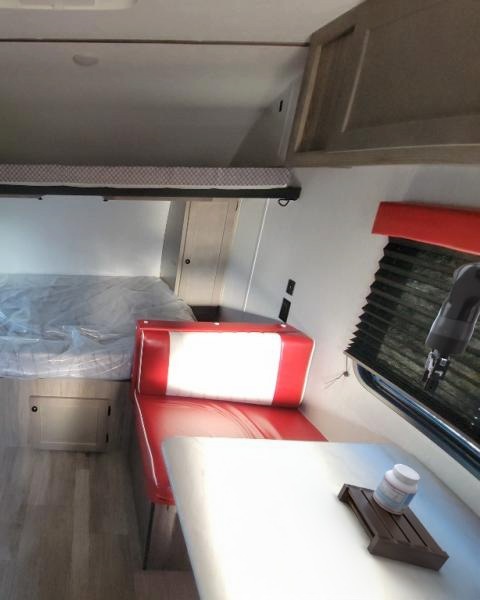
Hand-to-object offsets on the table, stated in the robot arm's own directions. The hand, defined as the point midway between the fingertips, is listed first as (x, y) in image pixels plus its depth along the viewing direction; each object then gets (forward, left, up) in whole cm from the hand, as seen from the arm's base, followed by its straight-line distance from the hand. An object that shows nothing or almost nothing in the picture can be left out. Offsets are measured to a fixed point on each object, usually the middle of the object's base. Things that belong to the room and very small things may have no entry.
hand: (427, 386), depth 96 cm
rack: (+17, +28, -28) cm, 43 cm away
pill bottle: (+16, +24, -23) cm, 37 cm away
